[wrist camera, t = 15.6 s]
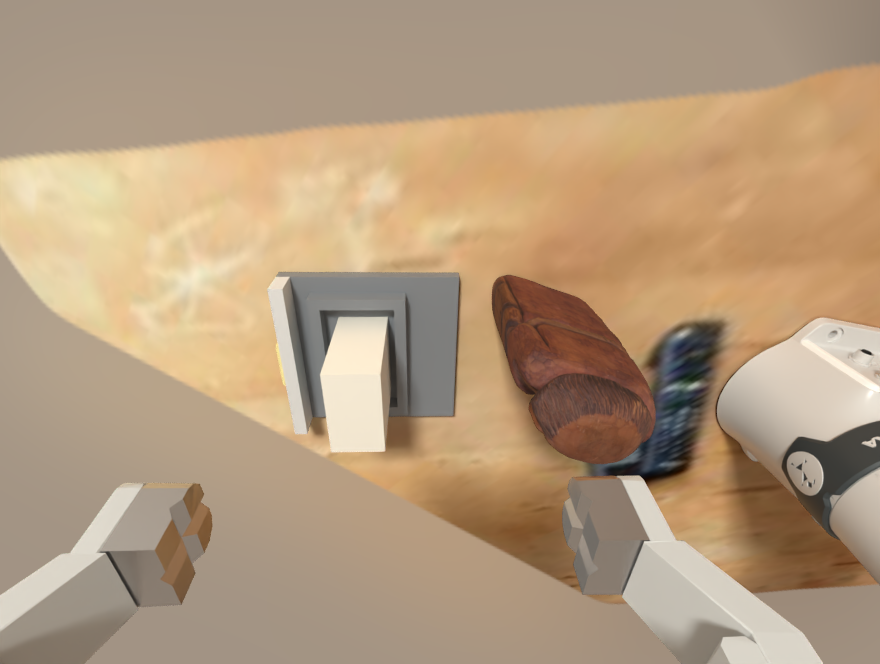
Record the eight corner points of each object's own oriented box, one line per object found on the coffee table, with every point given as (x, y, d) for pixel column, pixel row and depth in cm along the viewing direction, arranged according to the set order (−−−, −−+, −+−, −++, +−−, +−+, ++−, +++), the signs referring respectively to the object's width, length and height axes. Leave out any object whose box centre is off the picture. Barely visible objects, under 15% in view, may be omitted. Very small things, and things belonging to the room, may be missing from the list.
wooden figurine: (470, 319, 44) (497, 461, 28) (499, 261, 41) (547, 384, 25) (576, 356, 46) (654, 504, 31) (610, 303, 43) (715, 438, 28)
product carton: (387, 316, 42) (380, 374, 34) (391, 386, 46) (385, 451, 38) (336, 316, 42) (317, 374, 34) (344, 386, 46) (328, 452, 38)
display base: (458, 272, 41) (461, 289, 38) (452, 409, 49) (454, 432, 46) (274, 272, 41) (262, 289, 38) (299, 411, 49) (291, 434, 46)
